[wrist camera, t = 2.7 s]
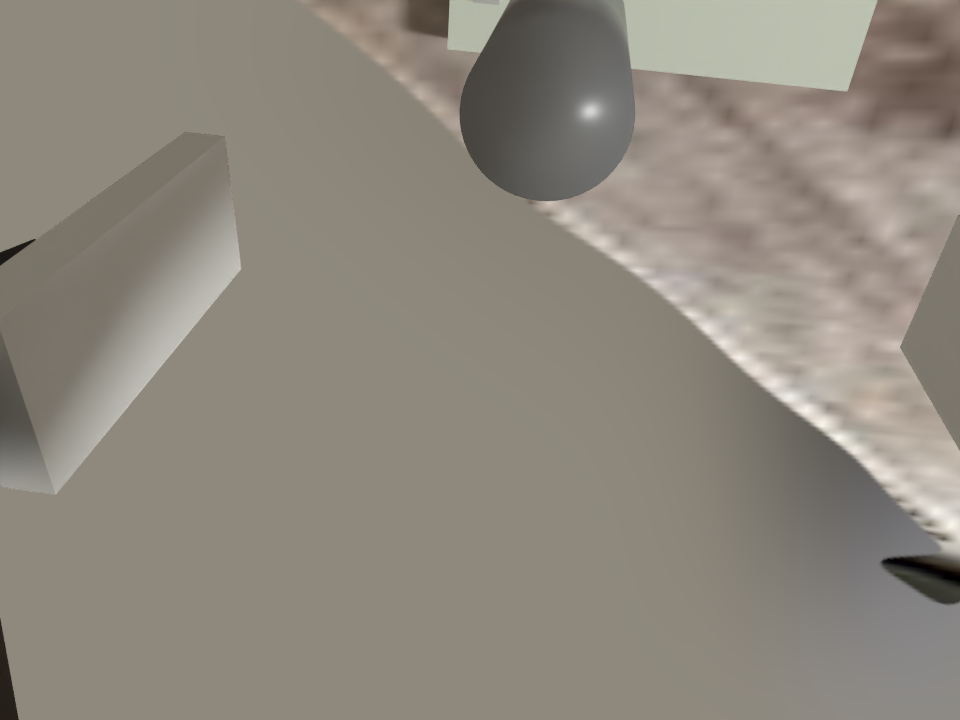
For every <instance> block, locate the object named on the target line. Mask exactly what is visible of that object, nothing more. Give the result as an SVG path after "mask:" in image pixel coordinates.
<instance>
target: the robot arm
mask: <svg viewBox="0 0 960 720" xmlns="http://www.w3.org/2000/svg"><path fill="white" fill-rule="evenodd" d="M240 270H241V263H240V255H239V247H238V239H237V230H236V223H235V214H234V206H233V199H232V190H231V182H230V174H229V166H228V158H227V149H226V141H225V136H218V135H208V134H199V133H190V132H184V133H183V134H181V135H180V136H179V137H177V138H176V139H175V140H173V141H172V142H170V143H169V144H168V145H166V146H165V147H163V148H162V149H161V150H159V151H158V152H157V153H155V154H154V155H153V156H151V157H150V158H148V159H147V160H146V161H144V162H143V163H141V164H140V165H139V166H137V167H136V168H135V169H133V170H132V171H130V172H129V173H128V174H126V175H125V176H124V177H122V178H121V179H119V180H118V181H117V182H115V183H114V184H112V185H111V186H110V187H108V188H107V189H106V190H104V191H103V192H101V193H100V194H99V195H97V196H96V197H94V198H93V199H92V200H90V201H89V202H88V203H86V204H85V205H84V206H82V207H81V208H80V209H78V210H77V211H75V212H74V213H73V214H71V215H70V216H68V217H67V218H66V219H64V220H63V221H61V222H60V223H59V224H57V225H56V226H55V227H53V228H52V229H51V230H49V231H48V232H46V233H45V234H43V235H42V236H41V237H39V238H38V239H37V240H36V239H33V240H31V241H28V242H26V243H23V244H21V245H18V246H16V247H13V248H10V249H8V250H5V251H3V252H0V483H1V486H2V487H5V488H12V489H19V490H27V491H33V492H40V493H48V494H54V495H56V494H57V492H58V491H59V490H60V489H61V487H62V486H63V485H64V484H65V483H66V481H67V480H68V479H69V478H70V477H71V475H72V474H73V473H74V472H75V471H76V469H77V468H78V467H79V466H80V464H81V463H82V462H83V461H84V460H85V458H86V457H87V456H88V455H89V454H90V452H91V451H92V450H93V449H94V447H95V446H96V445H97V444H98V443H99V441H100V440H101V439H102V438H103V436H104V435H105V434H106V433H107V432H108V430H109V429H110V428H111V427H112V425H113V424H114V423H115V422H116V421H117V419H118V418H119V417H120V415H122V413H123V412H124V411H125V410H126V409H127V407H128V406H129V405H130V404H131V402H132V401H133V400H134V399H135V398H136V396H137V395H138V394H139V392H140V391H141V390H142V389H143V388H144V387H145V385H146V384H147V383H148V382H149V380H150V379H151V378H152V377H153V375H154V374H155V373H156V372H157V371H158V369H159V368H160V367H161V366H162V365H163V363H164V362H165V361H166V359H168V357H169V356H170V355H171V354H172V352H173V351H174V350H175V349H176V348H177V346H178V345H179V344H180V343H181V341H182V340H183V339H184V338H185V337H186V335H187V334H188V333H189V332H190V331H191V329H192V328H193V327H194V326H195V324H196V323H197V322H198V321H199V320H200V318H201V317H202V316H203V315H204V314H205V312H206V311H207V310H208V309H209V307H210V306H211V305H212V304H213V303H214V301H215V300H216V299H217V298H218V296H219V295H220V294H221V293H222V292H223V290H224V289H225V288H226V287H227V285H228V284H229V283H230V282H231V280H232V279H233V278H234V277H235V276H236V275H237V273H238V272H239V271H240ZM900 348H901V350H902V351H903V353H904V355H905V357H906V358H907V360H908V362H909V364H910V365H911V367H912V369H913V370H914V372H915V374H916V376H917V377H918V379H919V381H920V383H921V384H922V386H923V388H924V390H925V391H926V393H927V395H928V396H929V398H930V400H931V402H932V403H933V405H934V407H935V409H936V410H937V412H938V414H939V415H940V417H941V419H942V421H943V422H944V424H945V426H946V428H947V429H948V431H949V433H950V434H951V436H952V438H953V440H954V441H955V443H956V445H957V447H958V448H959V450H960V215H958V217H957V219H956V221H955V224H954V226H953V228H952V231H951V233H950V235H949V237H948V240H947V242H946V244H945V246H944V249H943V251H942V253H941V256H940V258H939V260H938V262H937V265H936V267H935V269H934V271H933V274H932V276H931V278H930V281H929V283H928V285H927V287H926V290H925V292H924V294H923V296H922V299H921V301H920V303H919V306H918V308H917V310H916V312H915V315H914V317H913V319H912V321H911V324H910V326H909V328H908V331H907V333H906V335H905V337H904V340H903V342H902V344H901V346H900ZM0 720H19V719H18V714H17V708H16V702H15V697H14V691H13V686H12V681H11V675H10V669H9V664H8V659H7V653H6V647H5V642H4V636H3V632H2V626H1V620H0Z"/></svg>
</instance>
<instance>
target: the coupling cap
mask: <svg viewBox="0 0 960 720" xmlns="http://www.w3.org/2000/svg"><path fill="white" fill-rule="evenodd" d="M634 122H635V102H634V92H633V82H632V73H631V63H630V54H629V44H628V34H627V25H626V15H625V7H624V2H623V0H510V1H509V3H508V5H507V7H506V9H505V10H504V12H503V14H502V16H501V18H500V19H499V21H498V23H497V25H496V27H495V28H494V30H493V32H492V34H491V36H490V38H489V39H488V41H487V43H486V45H485V47H484V48H483V50H482V52H481V54H480V56H479V57H478V59H477V61H476V63H475V65H474V66H473V68H472V70H471V72H470V74H469V75H468V78H467V80H466V83H465V85H464V88H463V92H462V96H461V103H460V125H461V132H462V135H463V139H464V143H465V145H466V147H467V150H468V152H469V154H470V156H471V158H472V159H473V161H474V163H475V164H476V165H477V167H478V168H479V169H480V170H481V172H482V173H483V174H484V175H485V176H486V177H487V178H488V179H489V180H491V181H492V182H493V183H494V184H496V185H497V186H499V187H500V188H502V189H504V190H505V191H507V192H509V193H512V194H514V195H516V196H519V197H522V198H526V199H531V200H537V201H556V200H562V199H568V198H571V197H574V196H577V195H580V194H582V193H584V192H586V191H589V190H590V189H592V188H593V187H595V186H597V185H598V184H599V183H601V182H602V181H603V180H604V179H606V178H607V177H608V176H609V175H610V174H611V173H612V171H613V170H614V169H615V168H616V167H617V165H618V164H619V163H620V161H621V160H622V158H623V156H624V154H625V152H626V151H627V148H628V146H629V143H630V141H631V137H632V133H633V129H634Z"/></svg>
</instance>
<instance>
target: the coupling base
mask: <svg viewBox="0 0 960 720" xmlns="http://www.w3.org/2000/svg"><path fill="white" fill-rule="evenodd" d="M509 1H510V0H450V4H449V27H448V49H451V50H460V51H470V52H479V53H481V52H482V50H483V48H484V47H485V45H486V43H487V41H488V39H489V38H490V36H491V34H492V32H493V30H494V28H495V27H496V25H497V23H498V21H499V19H500V18H501V16H502V14H503V12H504V10H505V9H506V7H507V5H508V3H509ZM623 2H624V7H625V15H626V25H627V34H628V44H629V54H630V63H631V69H640V70H649V71H659V72H668V73H677V74H687V75H696V76H706V77H715V78H725V79H734V80H743V81H753V82H762V83H772V84H781V85H791V86H800V87H809V88H819V89H828V90H838V91H847V90H848V87H849V84H850V81H851V78H852V75H853V72H854V69H855V66H856V63H857V60H858V57H859V54H860V51H861V48H862V45H863V42H864V39H865V36H866V33H867V30H868V27H869V24H870V21H871V18H872V15H873V12H874V9H875V6H876V3H877V0H623Z"/></svg>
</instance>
